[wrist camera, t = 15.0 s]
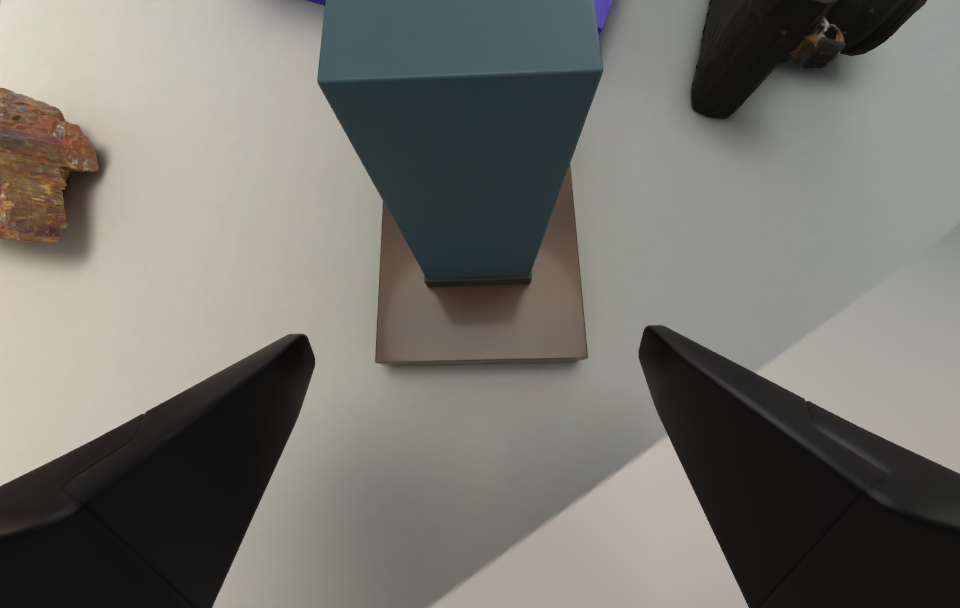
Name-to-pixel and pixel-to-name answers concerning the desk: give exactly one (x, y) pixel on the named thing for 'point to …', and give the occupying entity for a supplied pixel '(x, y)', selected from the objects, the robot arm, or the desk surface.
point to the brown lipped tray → (483, 305)
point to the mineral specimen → (37, 167)
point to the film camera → (783, 41)
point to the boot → (464, 120)
